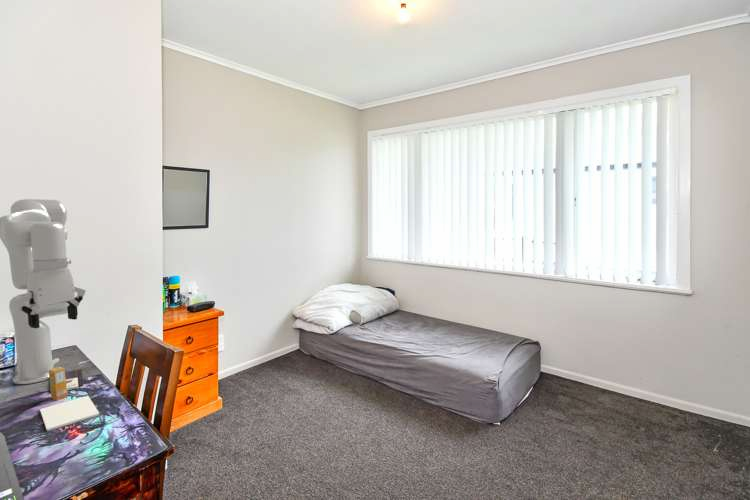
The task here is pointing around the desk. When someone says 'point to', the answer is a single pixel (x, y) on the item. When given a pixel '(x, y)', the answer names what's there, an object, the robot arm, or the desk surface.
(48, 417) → the mat
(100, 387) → the desk surface
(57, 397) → the supplement box
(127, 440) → the desk surface
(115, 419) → the desk surface
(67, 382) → the chocolate bar
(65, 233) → the robot arm
